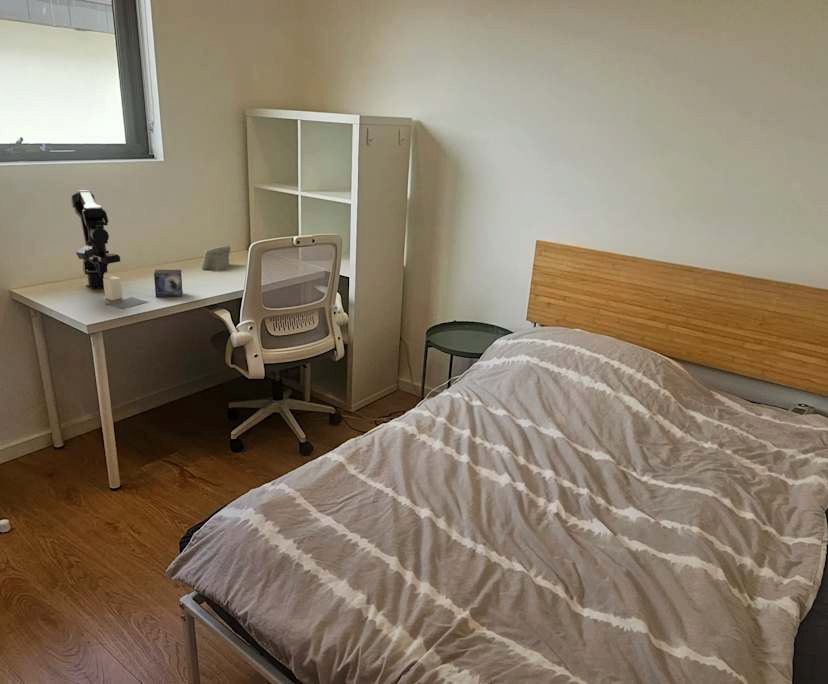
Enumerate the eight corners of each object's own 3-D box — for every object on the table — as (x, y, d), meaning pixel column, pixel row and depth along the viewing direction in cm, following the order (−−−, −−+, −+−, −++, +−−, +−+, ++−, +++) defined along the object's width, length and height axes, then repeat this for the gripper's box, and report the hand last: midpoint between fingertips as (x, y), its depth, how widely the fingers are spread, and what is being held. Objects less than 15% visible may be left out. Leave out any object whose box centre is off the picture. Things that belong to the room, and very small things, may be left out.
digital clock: (225, 263, 314) (224, 243, 310) (236, 267, 309) (235, 246, 305) (197, 268, 302) (196, 247, 298) (208, 272, 297) (207, 250, 293)
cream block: (105, 299, 248) (102, 278, 245) (115, 297, 252) (112, 276, 249) (112, 301, 246) (110, 280, 243) (122, 299, 250) (120, 278, 247)
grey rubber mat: (105, 304, 243) (105, 303, 243) (131, 297, 253) (131, 297, 253) (122, 309, 238) (122, 308, 238) (148, 302, 248) (148, 301, 248)
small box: (155, 297, 255) (153, 273, 251) (156, 293, 260) (154, 269, 257) (182, 297, 258) (180, 273, 254) (183, 292, 263) (181, 269, 260)
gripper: (62, 237, 240) (68, 276, 246) (93, 245, 232) (98, 284, 238) (88, 234, 250) (93, 271, 255) (119, 240, 242) (123, 278, 247)
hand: (101, 276), depth 248 cm, fingers closed
